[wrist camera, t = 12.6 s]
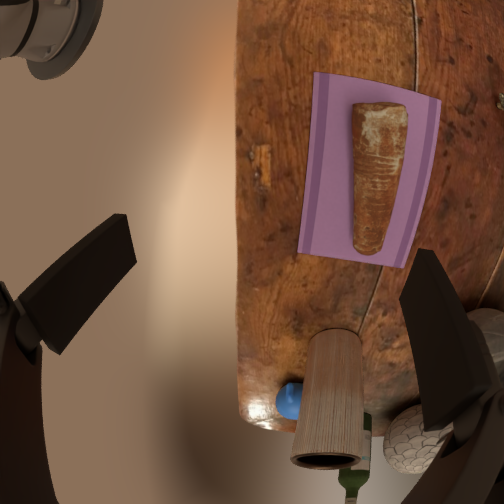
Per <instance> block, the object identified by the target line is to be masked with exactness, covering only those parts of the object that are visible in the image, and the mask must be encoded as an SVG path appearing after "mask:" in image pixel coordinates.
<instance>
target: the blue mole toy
mask: <svg viewBox="0 0 504 504" xmlns="http://www.w3.org/2000/svg"><path fill="white" fill-rule="evenodd" d="M302 389H303V384H301V383H288V384H287V385H285V386H284V387H282V388H281V389H280V391H279V392H278V394H277V396H276V408H277V410H278V412H279V413H280V414H281V415H282V416H283V417H285V418H288V419H294V420H296V419H298V415H299V409H300V402H301V396H302Z"/></svg>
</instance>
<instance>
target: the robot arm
mask: <svg viewBox="0 0 504 504" xmlns="http://www.w3.org/2000/svg"><path fill="white" fill-rule="evenodd" d="M80 13H81V0H0V59H1V58H6V57H12V56H18V57H22V58H25V59H29V60H32V61H35V62H46V61H50V60H52V59H54V58H55V57H56V56H58V55H59V54H60V53H61V52H62V50H63V49H64V48H65V47H66V45H67V44H68V42H69V41H70V39H71V37H72V35H73V33H74V31H75V29H76V26H77V24H78V21H79V17H80ZM136 263H137V260H136V256H135V253H134V248H133V243H132V239H131V235H130V230H129V226H128V220H127V216H126V214H113V215H112V216H111V217H109V218H108V219H107V220H105V221H104V222H103V223H101V224H100V225H99V226H97V227H96V228H95V229H94V230H92V231H91V232H90V233H89V234H87V235H86V236H85V237H84V238H82V239H81V240H80V241H79V242H78V243H76V244H75V245H74V246H73V247H71V248H70V249H69V250H68V251H67V252H66V253H65V254H63V255H62V256H61V257H60V258H59V259H58V260H56V261H55V262H54V263H53V264H52V265H51V266H50V267H49V268H47V269H46V270H45V271H44V272H43V273H42V274H41V275H40V276H39V277H38V278H37V279H36V280H35V281H34V282H33V283H32V284H30V285H29V287H27V288H26V290H25V291H23V292H22V294H20V295H19V296H18V299H16V300H15V301H13V299H12V297H11V296H10V294H9V292H8V290H7V288H6V286H5V284H4V282H2V281H0V504H59V503H58V501H57V499H56V496H55V492H54V488H53V484H52V480H51V475H50V470H49V465H48V459H47V453H46V446H45V438H44V429H43V417H42V397H41V369H42V346H41V345H40V341H41V340H42V339H43V341H44V342H45V344H46V345H47V346H48V348H49V349H50V350H52V351H54V352H55V353H57V354H59V355H61V353H62V352H63V351H64V349H65V348H66V347H67V345H68V344H69V343H70V341H71V340H72V339H73V337H74V336H75V335H76V334H77V332H78V331H79V330H80V328H81V327H82V326H83V324H84V323H85V322H86V321H87V320H88V318H89V317H90V316H91V315H92V314H93V312H94V311H95V310H96V309H97V307H98V306H99V305H100V303H102V301H103V300H104V299H105V298H106V297H107V296H108V294H109V293H110V292H111V291H112V290H113V289H114V287H115V286H116V285H117V284H118V283H119V282H120V280H121V279H122V278H123V277H124V276H125V275H126V274H127V273H128V272H129V270H130V269H131V268H132V267H133V266H134V265H135V264H136ZM399 301H400V304H401V308H402V311H403V315H404V319H405V323H406V327H407V331H408V335H409V339H410V344H411V348H412V353H413V358H414V363H415V368H416V374H417V379H418V385H419V392H420V399H421V406H422V414H423V424H424V432H430V431H438V430H443V429H444V428H445V427H447V426H448V425H449V424H450V423H452V422H453V430H452V431H450V432H449V433H447V434H446V435H445V436H443V437H442V438H441V439H439V440H438V442H437V443H436V444H440V443H441V442H443V441H444V440H445V441H444V443H443V444H442V446H441V448H440V449H439V451H438V453H437V454H436V456H435V457H434V459H433V461H432V462H431V464H430V465H429V467H428V468H427V470H426V471H425V473H424V474H423V475H422V477H421V478H420V479H419V481H418V482H417V484H416V485H415V486H414V488H413V489H412V490H411V491H410V493H409V494H408V495H407V496H406V498H405V499H404V500H403V501H402V503H401V504H504V388H503V387H502V385H501V382H500V378H499V375H498V372H497V369H496V366H495V363H494V361H493V358H492V355H491V353H490V350H489V347H488V345H487V344H486V340H485V337H484V335H483V333H482V330H481V329H480V328H479V327H478V325H477V324H476V323H475V322H474V320H469V319H468V316H467V314H466V312H465V310H464V308H463V306H462V303H461V301H460V299H459V297H458V295H457V293H456V291H455V289H454V287H453V285H452V283H451V282H450V280H449V278H448V276H447V274H446V272H445V270H444V269H443V267H442V265H441V263H440V262H439V260H438V258H437V256H436V255H435V253H434V251H433V250H426V249H420V248H418V251H417V254H416V256H415V259H414V262H413V265H412V268H411V270H410V273H409V275H408V278H407V281H406V283H405V286H404V288H403V291H402V293H401V295H400V298H399Z"/></svg>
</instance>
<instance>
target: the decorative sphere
mask: <svg viewBox="0 0 504 504" xmlns="http://www.w3.org/2000/svg"><path fill="white" fill-rule="evenodd" d="M452 430H453V422H452V423H450V424H449V425H448V426H447V427H445V428H444V429H443V430H438V431H430V432H424V424H423V414H422V406H421V404H418V405H415V406H412V407H410V408H408V409H406V410H405V411H403V412H402V413H400V414H399V415H398V416H397V417H396V418H395V419H394V420H393V421H392V423H391V424H390V426H389V427H388V429H387V431H386V434H385V437H384V442H383V452H384V456H385V458H386V460H387V462H388V463H389V465H390V466H391V467H392V468H394V469H395V470H397V471H399V472H402V473H406V474H417V473H421V472H425V471H426V470H427V468H428V467H429V465H430V464H431V462H432V461H433V459H434V457H435V456H436V454H437V453H438V451H439V449H440V448H441V446H442V444H443V443H444V441H445V440H444V441H443V442H441V443H440V444H436V443H437V442H438V440H439V439H441V438H442V437H443V436H445V435H446V434H447V433H449V432H450V431H452Z"/></svg>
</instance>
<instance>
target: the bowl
mask: <svg viewBox="0 0 504 504" xmlns="http://www.w3.org/2000/svg"><path fill="white" fill-rule="evenodd" d="M466 314H467V316H468V319H469V320H474V322H475V323H476V324H477V325H478V327H479V328H480V329H481V330H482V333H483V335H484V337H485V340H486V344H487V345H488V347H489V350H490V353H491V355H492V358H493V361H494V363H495V366H496V369H497V372H498V375H499V378H500V382H501V385H502V387H503V388H504V312H502V311H499V310H496V309H490V308H480V309H476V310H473V311H470V312H468V313H466Z"/></svg>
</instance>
